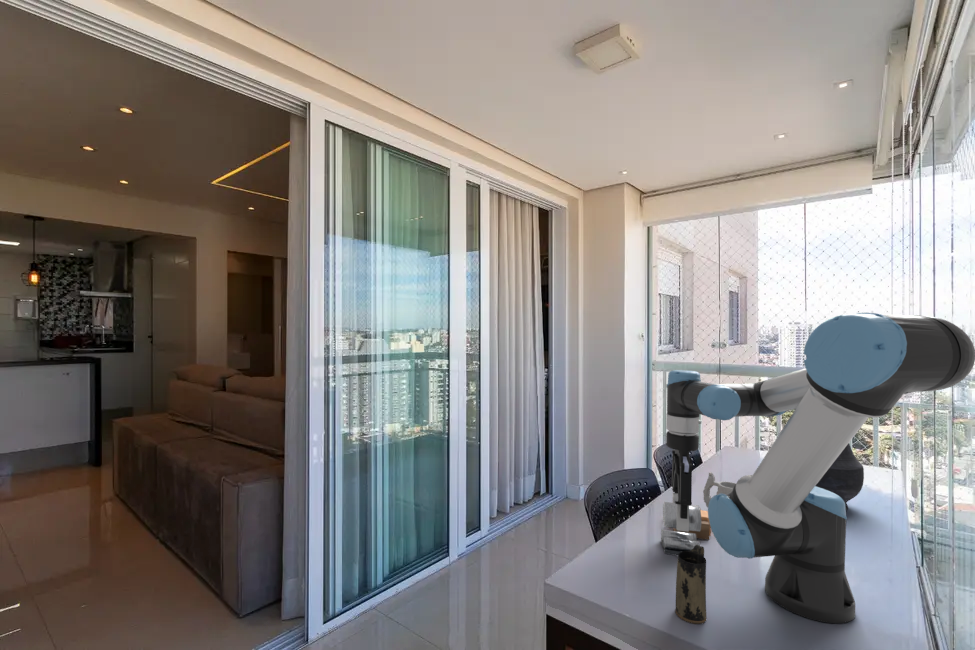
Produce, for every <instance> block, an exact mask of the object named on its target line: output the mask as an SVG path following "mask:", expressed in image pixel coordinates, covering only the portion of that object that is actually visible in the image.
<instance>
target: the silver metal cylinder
mask: <svg viewBox="0 0 975 650" xmlns="http://www.w3.org/2000/svg"><path fill="white" fill-rule="evenodd" d="M700 508H701V507H700V505H696V504H691V506H690V505H689V530H691V531H699V532H700V530H701V511H700ZM662 522H663V526H664V528H670V529H674V528H675V529H676V522H677V504H675V503H672V502H671V501H663V504H662Z"/></svg>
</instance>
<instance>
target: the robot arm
mask: <svg viewBox="0 0 975 650" xmlns="http://www.w3.org/2000/svg"><path fill="white" fill-rule="evenodd" d="M973 343H974V342H973V341H972V339H971V338H970V337H969V335H968V334H967V333H966V332H965V330H963V329H962V328H960V327H959V326H957V325H956V324H954V323H952V322H951V321H948V320H945V319H943V318H939V317H936V316H929V315H921V314H920V315H917V314H916V315H905V314H901V315H900V314H882V313H876V312H856V313H846V314H839V315H836V316H833V317H831V318H829V319H827V320H825V321H822V323H820V324H819V325H818V326H817V327H816V328H815V329H813V331H812V332H811V333H810V335H809V337H808V338H807V340H806V343H805V345H804V350H803V355H805V356H806V357H805V359H804V360H803V364H804V367H805V368H801V369H798V370H795V371H791V372H789V373H786V374H785V373H784V374H782V375H779V376H775V377H772V378H767V379H766V380H762V381H759V382H756V383H755V382H754V383H711V382H710V383H709V382H705V381H702V379H701V374H700V372H699V371H697V370H686V369H685V370H684V369H674V370H671V371H669V372H668V377H667V384H666V387H667V388H666V390H667V391H666V418H665V419H666V421H665V422H666V423H665V424H666V425H665V426H666V427H665V429H666V430H667V431H666V435H665V437H666V438H665V444H666V446H667V448H669V449H671V450H672V451H671V455H672V457H671V458H672V462H671V463H672V465H671V467H672V468H671V484H670V485H671V486H670V487H672V488H671V489H672V490H671V491H672V502H671V503H675V504H677V522H676V529H677V530H679V531H687V532H689V505H690V506H691V505H693V504H692V491H693V490H692V489H693V488H692V487H693V486H692V484H693V481H692V480H693V479H692V478H693V475H692V474H693V468H694V465H693V460H692V459H693V458H692V457H690V452H696V451H697V450H699V448H700V447H699V445H700V444H699V442H700V438H699V437H700V436H699V434H698V433H699V432H700V426H699V425H702V423H703V422H702V420H701V419H700V415H701V416H704V417H707V418H710V419H712V420H719V421H729V420H731V419H733V418H735V417H766V418H768V417H776V416H781V415H784V414H785V413H786V412H787V411H792V410H794V411H793V412H792V414H791V415H790V417H789V418H788V420H787V421H786V423H785V425H784V427H783V428H782V429H781V431H780V433H779V434H778V436H777V437H776V439H775V440H774V442H773V443H772V444H771V446H770V448H769V449H768V451H767V452H766V454H765V455H764V457H763V458H762V460H761V461H760V463H759V465H758V466H757V467H756V469H755V471H754V472H753V474H747V475H743V476H741V477H740V478H739V479H738V480H737V482H735V483H736V484H735V486H734V487H733V489H732V491H731V492H730V493H728V494H723V493H720V494H718V495H716V494H715V495H713V496H711V499H710V501H709V505H708V507H707V511H708V518H709V522H710V526H711V533H712V534H713V536H714V538H715V540H716V542H717V543H718V545H719V546H720V548H721V549H723V550H724V552H726V553H727V554H728V555H729V556H733V557H734V558H737V559H738V558H740V559H741V558H742V559H745V558H747V559H753V558H762V557H763V558H764V557H773V556H774V557H773V559H772V561H771V563H770V566H769V568H768V570H767V573H766V575H765V578H764V579H765V580H764V589H765V594H767V595H768V597H769V598H770V599H771V600H772V601H774V602H775V603H776V604H777V605H779V606H781V607H782V608H783V609H786V610H787V611H789V612H792V613H794V614H796V615H798V616H801V617H803V618H806V619H807V618H808V619H810V620H814V621H818V622H823V623H829V624H845V623H849V622H851V621H853V620H854V619H855V618H856V602H855V597H854V595H853V592H852V589H851V585H850V583H849V580H848V577H847V574H846V572H845V571H846V569H845V568H846V562H845V561H846V545H847V544H846V540H847V538H846V537H847V520H848V517H847V512H846V511H847V510H846V507H845V502H844V501H843V499H842V498H841V497H840V496H838V495H837V494H835V493H833V492H830V491H828V490H825V489H822V488H819V487H816V484H817V483H818V482H819V481H820V479H821V478H822V477H823V475H824V474H825V473H826V472H827V470H828V469H829V468H830V466H831V465H832V464H833V463H834V461H835V460H836V459H837V457H838V456H839V455H840V454H841V452H842V451H843V450H844V448H845V447H846V446H847V445H848V443H849V444H850V442H851V441H852V440H853V438H854V437H855V436H856V434H857V433H858V432H859V430H860V429H861V428H862V427H863V426H864V424H865V423H866V422H867V421H868V419H869V418H870V419H871V418H874V419H875V418H882V417H885V416H886V415H888V414H889V413H890V411H891V410H892V409H893V408H894V407H895V406H896V405H897V403H898V402H899V400H900V399H901V398H902V397H903V396H904V395H906V394H911V393H917V392H918V393H919V392H920V393H921V392H935V391H941V390H946V389H948V388H951V387H954V386H955V385H957V384H959V383H960V382H962V381H963V380H965V378H966V377H967V376H968V375H969V374H970V373H971V372H972V369H973V368H974V365H975V346H974V344H973Z"/></svg>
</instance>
